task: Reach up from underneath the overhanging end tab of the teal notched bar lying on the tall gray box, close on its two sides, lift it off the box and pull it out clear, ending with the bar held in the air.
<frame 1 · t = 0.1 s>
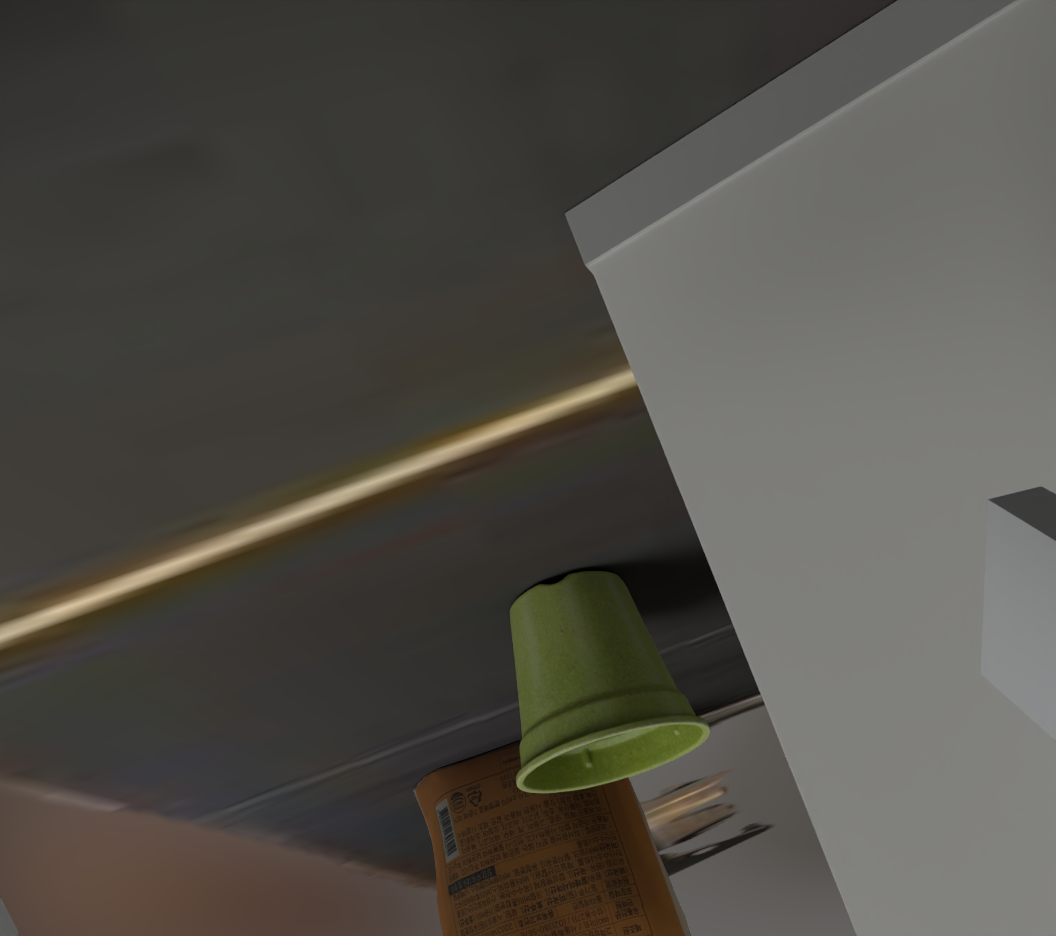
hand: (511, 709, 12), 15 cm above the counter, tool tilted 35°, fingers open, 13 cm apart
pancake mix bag: (506, 748, 70), on the counter
tall gray box: (880, 161, 27), on the counter
plant pot: (564, 592, 48), on the counter
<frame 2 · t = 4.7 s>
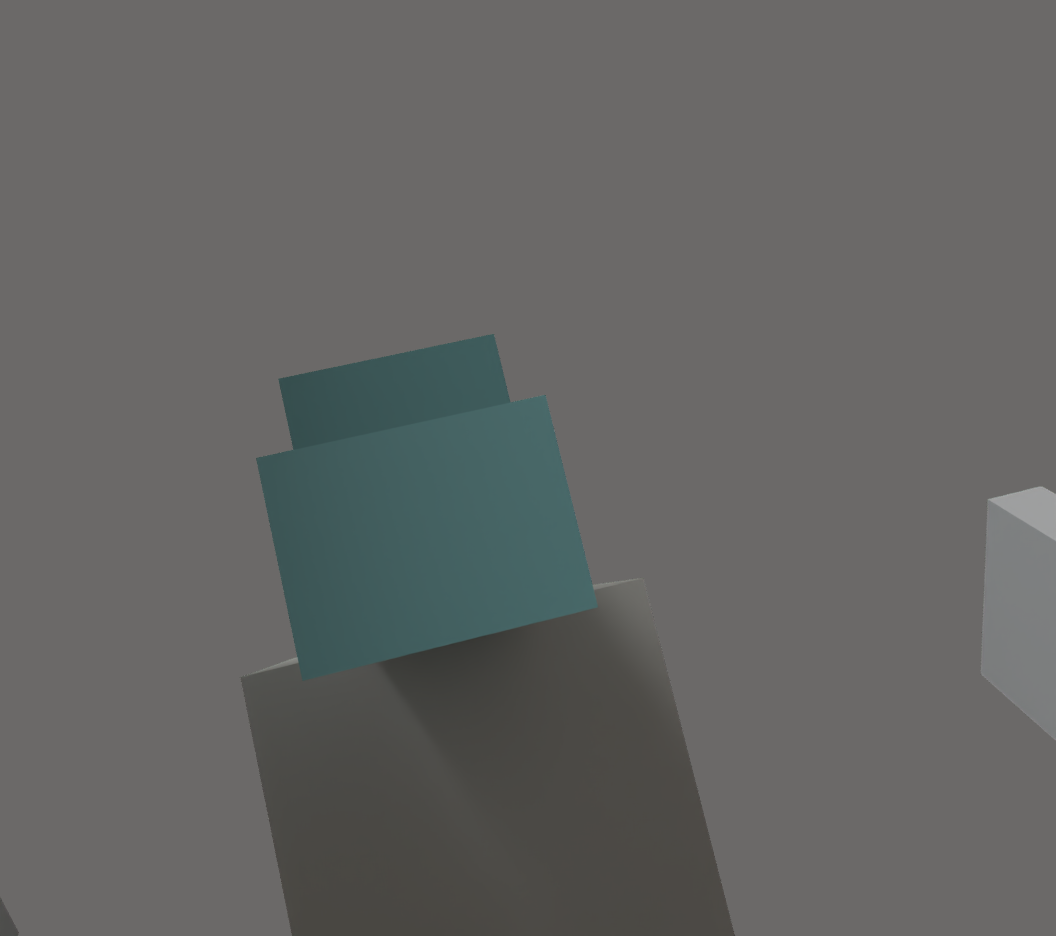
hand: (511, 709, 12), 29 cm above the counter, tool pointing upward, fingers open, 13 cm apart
teal notched bar: (446, 624, 25), point 30 cm above the counter, touching tall gray box
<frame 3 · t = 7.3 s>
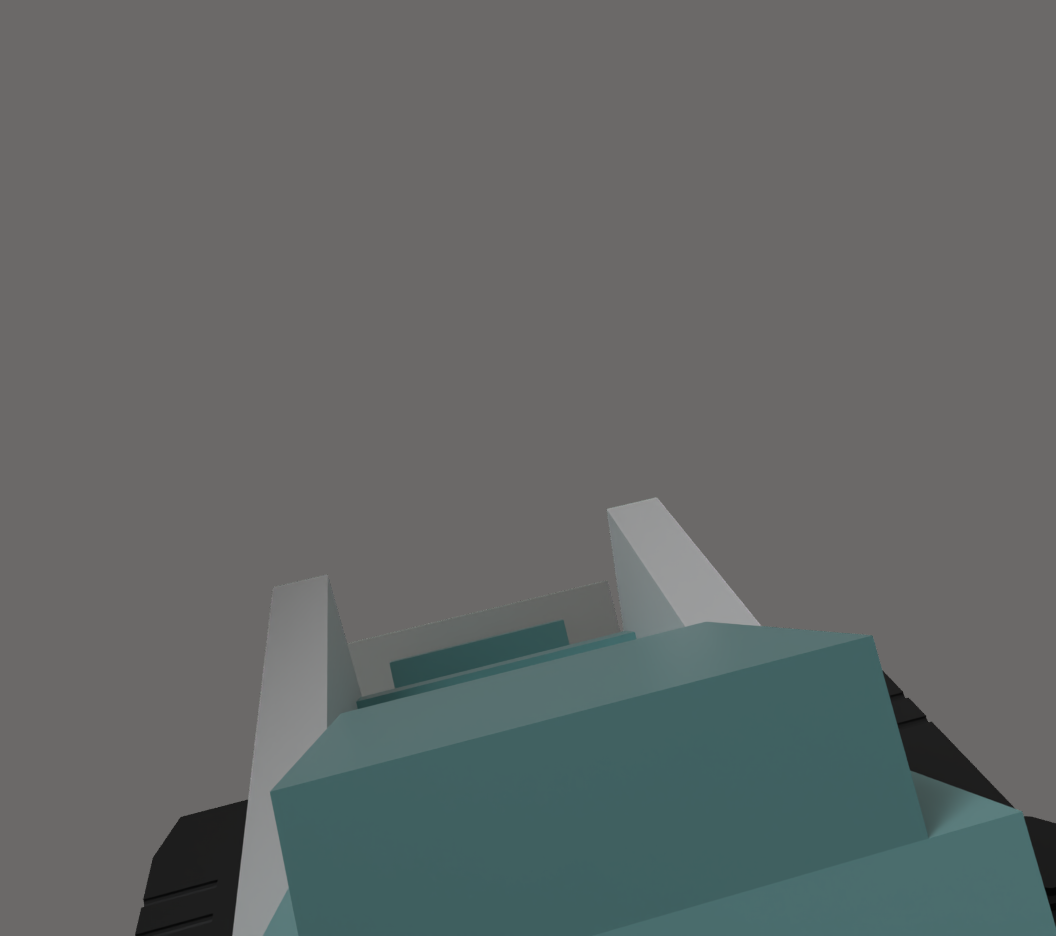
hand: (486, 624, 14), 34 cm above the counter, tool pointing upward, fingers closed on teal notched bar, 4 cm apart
teal notched bar: (529, 847, 17), point 30 cm above the counter, touching gripper, tall gray box
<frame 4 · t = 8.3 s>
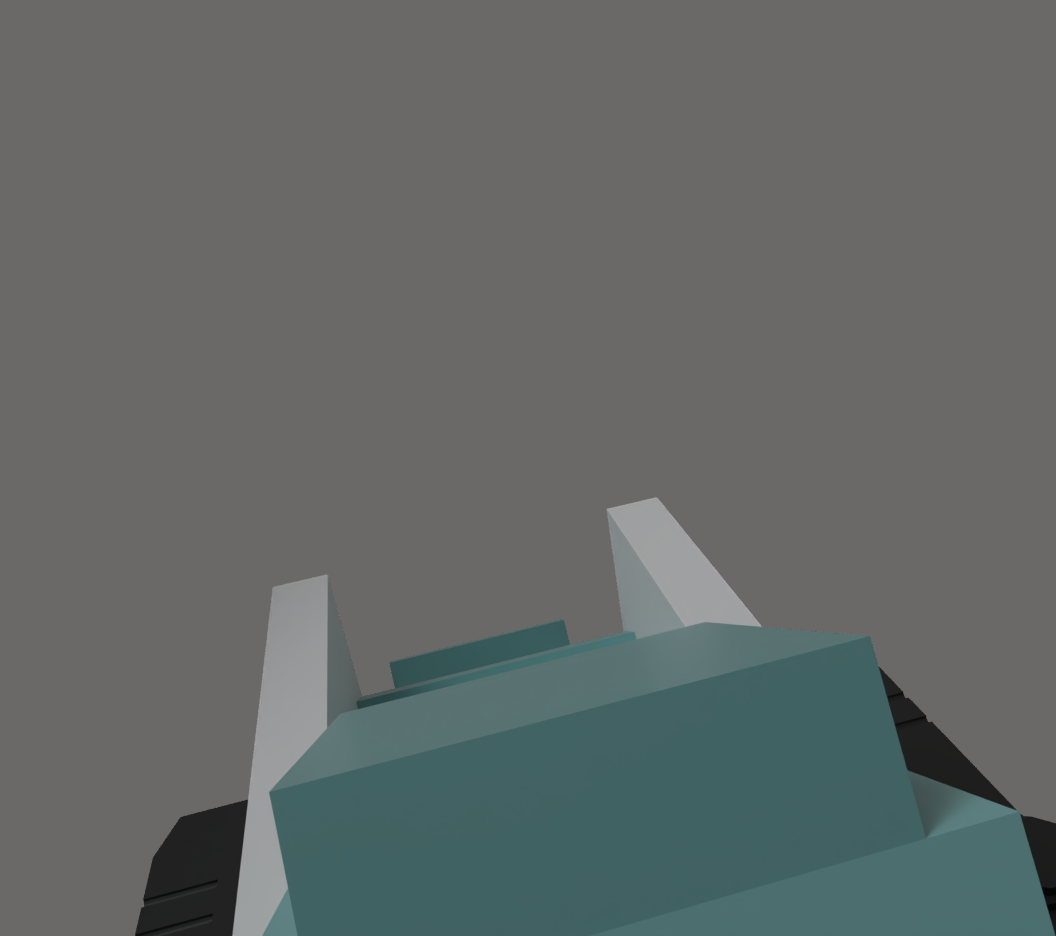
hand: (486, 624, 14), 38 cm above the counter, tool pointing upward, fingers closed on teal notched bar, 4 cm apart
teal notched bar: (530, 847, 17), point 34 cm above the counter, touching gripper
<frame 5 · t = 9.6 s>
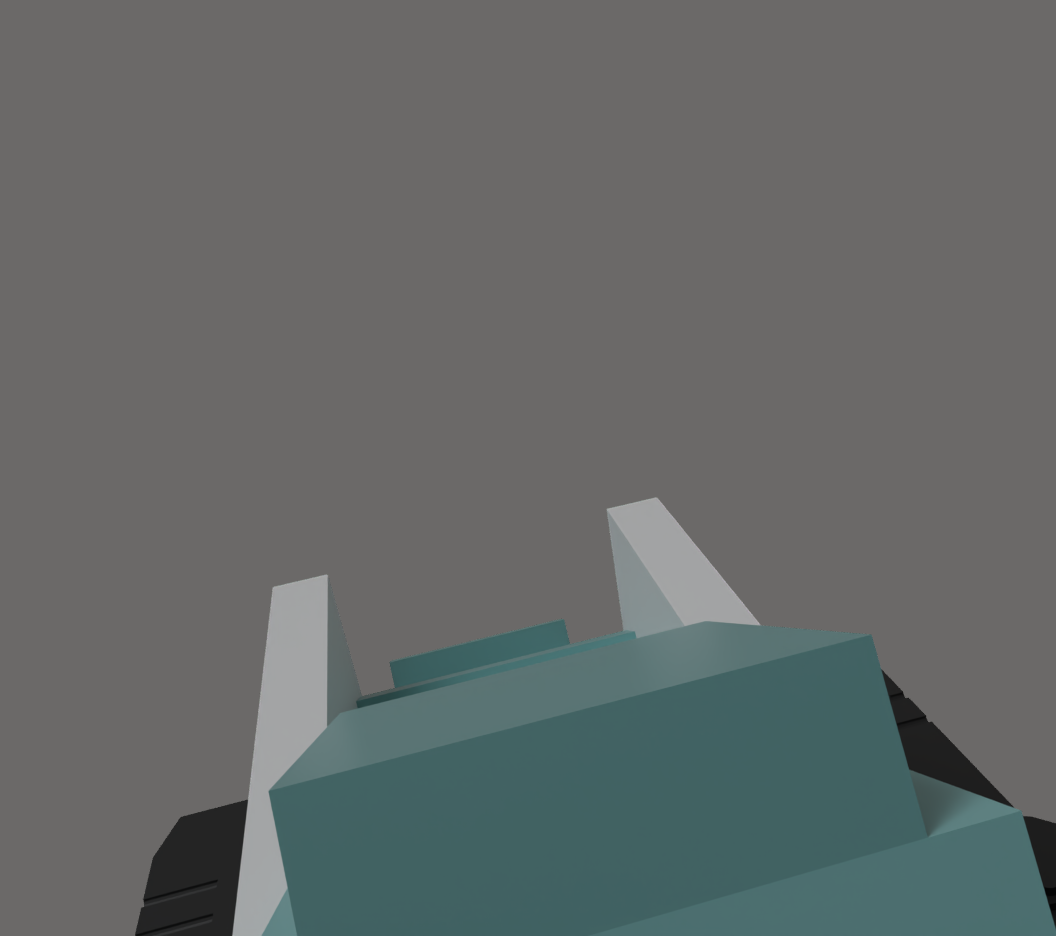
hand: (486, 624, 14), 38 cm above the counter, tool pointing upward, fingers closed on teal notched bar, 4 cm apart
teal notched bar: (530, 846, 17), point 34 cm above the counter, touching gripper
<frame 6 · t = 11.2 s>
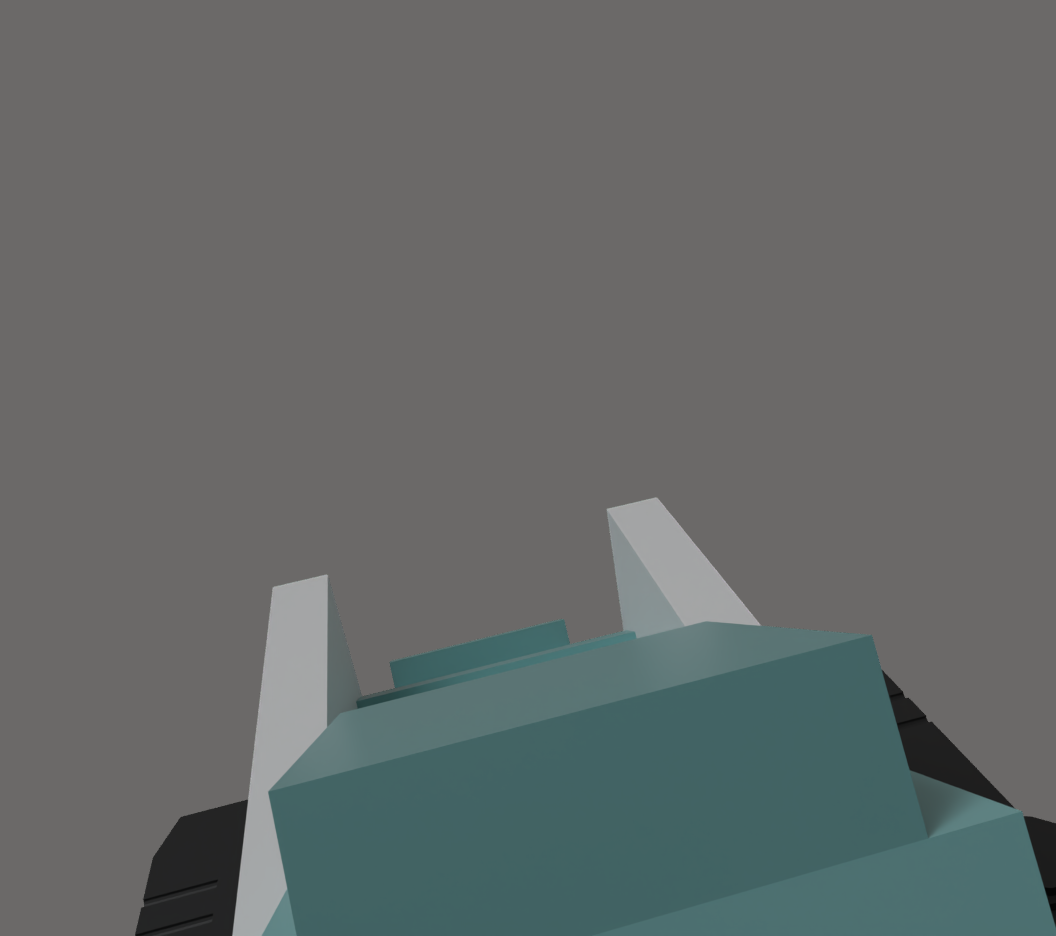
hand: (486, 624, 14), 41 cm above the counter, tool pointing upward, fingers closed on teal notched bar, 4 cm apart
teal notched bar: (530, 847, 17), point 36 cm above the counter, touching gripper
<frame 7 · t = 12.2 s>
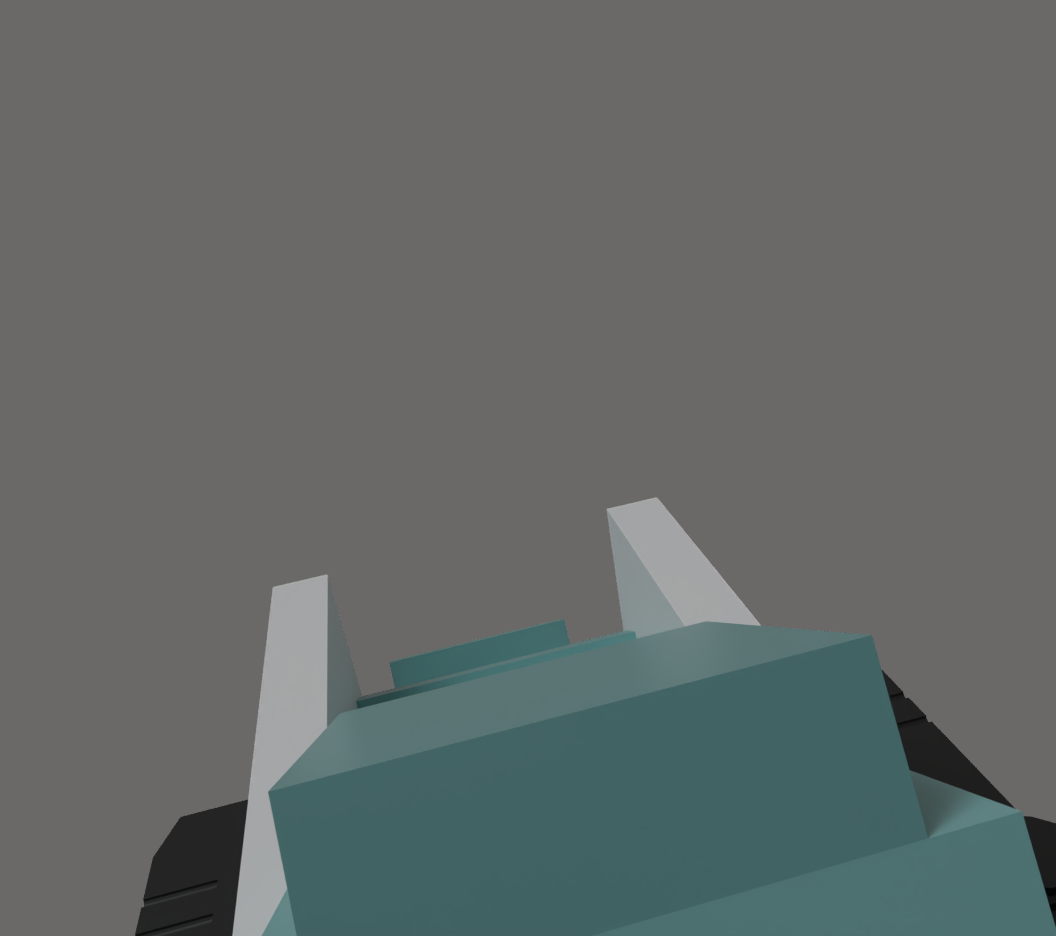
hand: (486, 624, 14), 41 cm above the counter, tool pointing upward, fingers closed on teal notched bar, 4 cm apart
teal notched bar: (530, 847, 17), point 36 cm above the counter, touching gripper
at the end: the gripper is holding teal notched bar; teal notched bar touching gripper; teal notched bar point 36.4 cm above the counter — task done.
